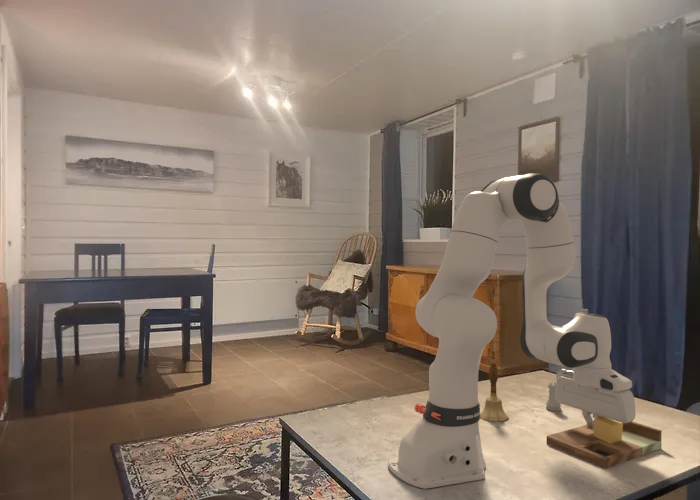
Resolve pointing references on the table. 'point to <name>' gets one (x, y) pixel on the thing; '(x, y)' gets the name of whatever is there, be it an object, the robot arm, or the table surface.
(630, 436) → the box
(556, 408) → the rook chess piece
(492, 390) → the hand bell
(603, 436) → the block
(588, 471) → the table surface
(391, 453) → the table surface
